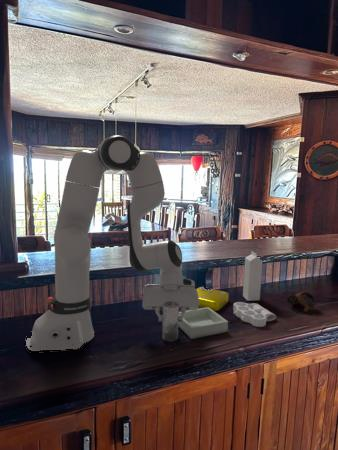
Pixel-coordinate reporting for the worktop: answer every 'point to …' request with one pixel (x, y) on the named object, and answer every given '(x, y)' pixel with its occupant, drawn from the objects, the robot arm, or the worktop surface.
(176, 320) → the gray flashlight
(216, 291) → the element tile
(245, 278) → the milk
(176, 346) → the worktop surface
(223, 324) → the sage bin
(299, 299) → the turtle figurine
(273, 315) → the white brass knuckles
